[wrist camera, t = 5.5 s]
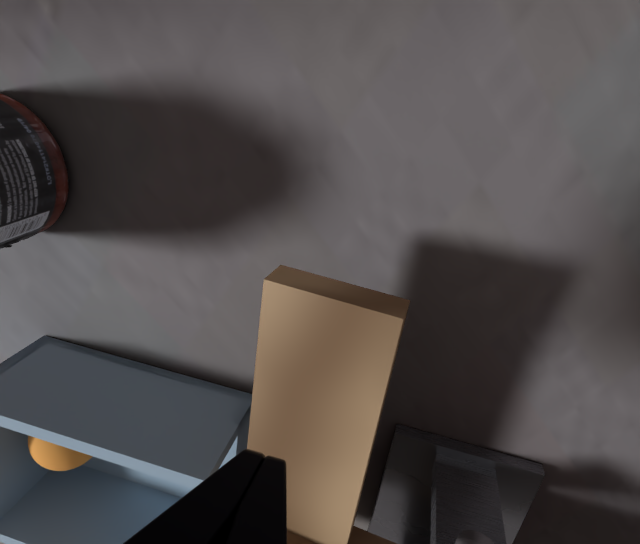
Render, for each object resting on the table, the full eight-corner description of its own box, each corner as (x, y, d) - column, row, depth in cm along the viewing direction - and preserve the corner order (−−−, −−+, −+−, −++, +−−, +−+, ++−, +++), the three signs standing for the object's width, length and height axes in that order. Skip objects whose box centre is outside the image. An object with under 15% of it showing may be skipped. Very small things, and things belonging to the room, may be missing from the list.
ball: (109, 386, 23) (92, 433, 20) (112, 433, 24) (96, 484, 21) (39, 386, 22) (11, 435, 19) (46, 435, 23) (20, 488, 21)
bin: (256, 395, 21) (205, 481, 16) (243, 516, 24) (198, 615, 20) (44, 335, 23) (-54, 397, 18) (59, 456, 26) (-20, 534, 21)
